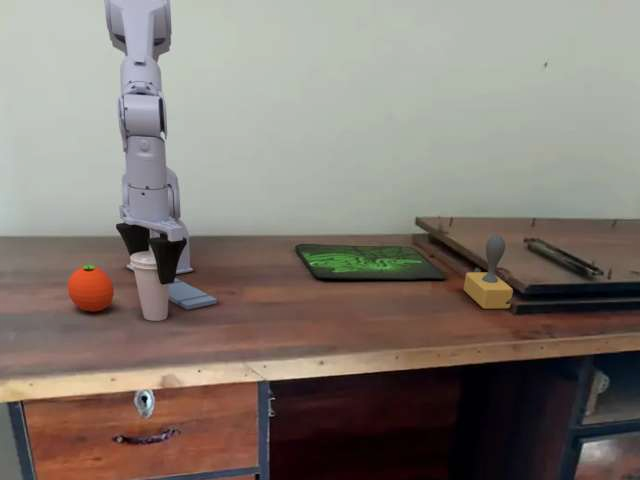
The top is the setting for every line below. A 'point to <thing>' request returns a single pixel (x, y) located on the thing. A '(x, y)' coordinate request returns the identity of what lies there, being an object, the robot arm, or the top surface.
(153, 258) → the smoothie
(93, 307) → the clementine
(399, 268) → the mouse mat
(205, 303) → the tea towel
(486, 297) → the rubber stamp
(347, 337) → the top surface
